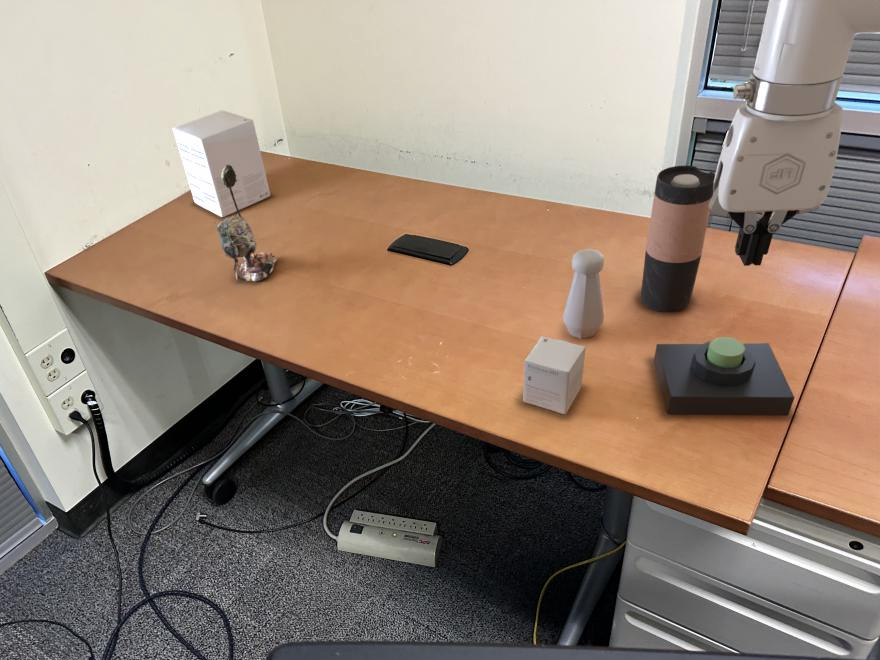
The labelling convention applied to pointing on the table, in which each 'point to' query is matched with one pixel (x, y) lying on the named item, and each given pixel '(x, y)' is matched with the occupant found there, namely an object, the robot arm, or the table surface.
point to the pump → (725, 352)
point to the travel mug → (676, 237)
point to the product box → (553, 374)
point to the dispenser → (721, 382)
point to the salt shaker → (585, 295)
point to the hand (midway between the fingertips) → (748, 259)
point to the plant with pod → (242, 240)
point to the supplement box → (222, 161)
